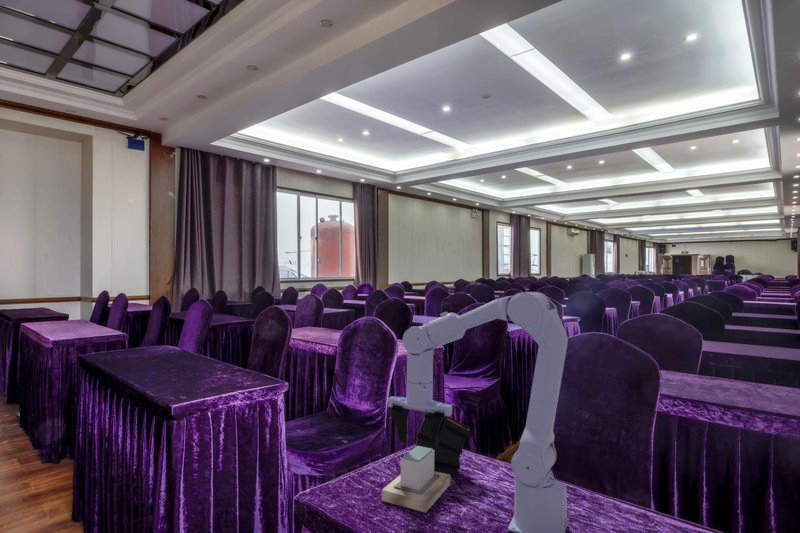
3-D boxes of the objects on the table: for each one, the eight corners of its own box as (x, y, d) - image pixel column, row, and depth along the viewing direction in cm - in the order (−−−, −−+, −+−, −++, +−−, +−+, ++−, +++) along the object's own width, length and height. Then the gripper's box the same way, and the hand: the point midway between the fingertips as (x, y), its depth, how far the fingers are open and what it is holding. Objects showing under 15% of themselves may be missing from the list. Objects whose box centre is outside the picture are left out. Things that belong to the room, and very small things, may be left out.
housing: (419, 490, 93) (419, 461, 93) (400, 485, 95) (400, 457, 95) (434, 475, 100) (434, 448, 100) (416, 471, 102) (416, 445, 102)
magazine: (401, 458, 111) (428, 405, 111) (449, 485, 110) (476, 431, 110) (400, 464, 108) (427, 409, 107) (449, 492, 106) (477, 436, 106)
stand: (450, 484, 101) (450, 473, 101) (425, 512, 89) (425, 499, 89) (410, 475, 106) (410, 464, 106) (381, 500, 93) (381, 488, 93)
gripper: (457, 381, 98) (456, 444, 98) (398, 374, 105) (397, 433, 104) (445, 388, 92) (444, 455, 92) (383, 380, 99) (382, 442, 98)
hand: (418, 444), depth 98 cm, fingers open, 7 cm apart
